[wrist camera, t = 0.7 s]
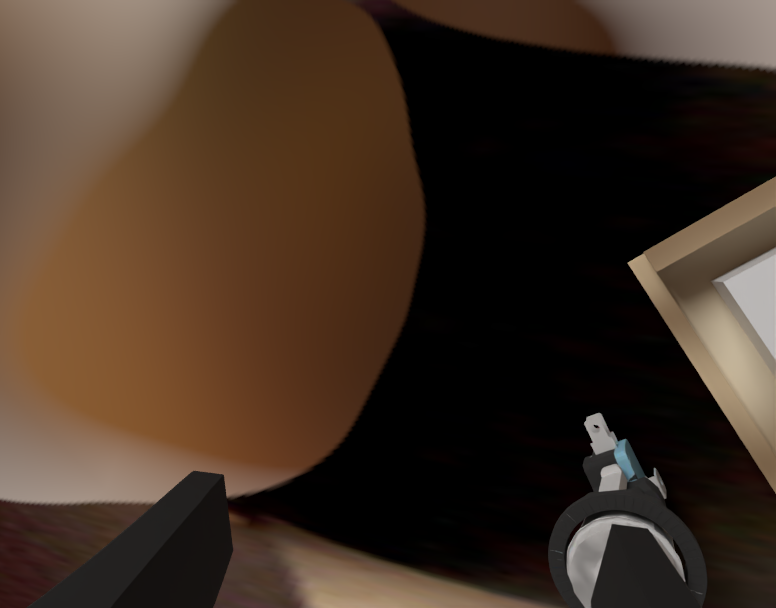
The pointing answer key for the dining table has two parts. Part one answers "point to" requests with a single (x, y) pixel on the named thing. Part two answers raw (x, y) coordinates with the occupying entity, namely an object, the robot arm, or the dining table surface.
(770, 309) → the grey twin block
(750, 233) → the beige tray
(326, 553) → the dining table surface
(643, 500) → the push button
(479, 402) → the dining table surface
